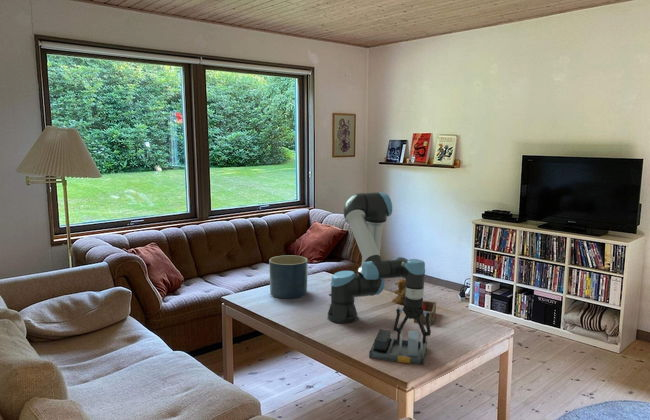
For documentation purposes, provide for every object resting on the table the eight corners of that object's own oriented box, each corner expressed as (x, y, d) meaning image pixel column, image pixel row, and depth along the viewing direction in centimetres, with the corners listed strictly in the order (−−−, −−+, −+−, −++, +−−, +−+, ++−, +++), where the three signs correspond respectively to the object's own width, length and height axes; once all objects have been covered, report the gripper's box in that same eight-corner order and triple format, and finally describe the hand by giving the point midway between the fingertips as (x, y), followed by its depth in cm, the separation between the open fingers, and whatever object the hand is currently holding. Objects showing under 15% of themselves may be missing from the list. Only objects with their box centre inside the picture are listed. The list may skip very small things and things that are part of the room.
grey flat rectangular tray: (368, 358, 204) (369, 342, 203) (376, 341, 220) (377, 326, 219) (422, 365, 197) (423, 349, 196) (426, 347, 214) (427, 332, 213)
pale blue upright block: (407, 358, 202) (408, 341, 201) (408, 346, 213) (409, 330, 212) (417, 359, 201) (417, 342, 200) (418, 347, 213) (418, 331, 212)
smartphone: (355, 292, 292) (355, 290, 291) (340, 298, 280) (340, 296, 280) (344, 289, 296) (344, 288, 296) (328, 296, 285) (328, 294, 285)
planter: (306, 299, 277) (306, 264, 274) (267, 299, 277) (266, 264, 274) (308, 287, 299) (308, 255, 296) (272, 287, 299) (271, 255, 296)
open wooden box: (413, 322, 244) (414, 310, 243) (417, 311, 259) (417, 300, 259) (433, 324, 241) (433, 312, 240) (435, 313, 257) (436, 302, 256)
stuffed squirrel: (406, 298, 280) (407, 276, 278) (418, 306, 267) (419, 283, 265) (390, 300, 277) (391, 277, 275) (402, 308, 263) (403, 284, 262)
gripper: (387, 296, 203) (384, 348, 207) (439, 302, 197) (435, 356, 201) (390, 291, 210) (387, 341, 214) (440, 297, 204) (436, 348, 208)
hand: (410, 348), depth 207 cm, fingers open, 8 cm apart
